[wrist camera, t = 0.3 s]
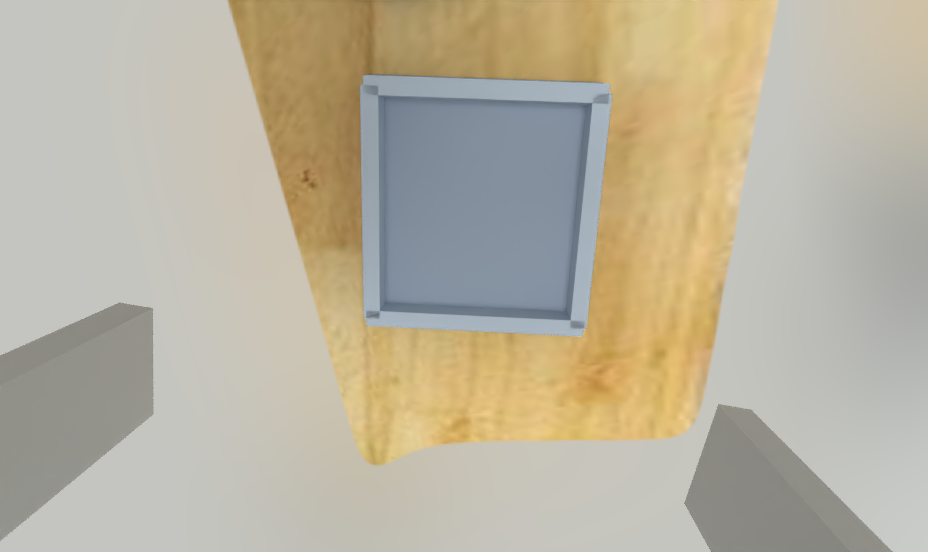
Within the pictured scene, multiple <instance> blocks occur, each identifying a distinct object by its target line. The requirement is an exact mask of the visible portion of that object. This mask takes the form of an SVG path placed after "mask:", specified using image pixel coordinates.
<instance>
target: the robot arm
mask: <svg viewBox="0 0 928 552" xmlns="http://www.w3.org/2000/svg"><path fill="white" fill-rule="evenodd" d="M152 415H153V308H148V307H142V306H135V305H130V304H124V303H118V304H116V305H114V306H111V307H109V308H107V309H104V310H102V311H100V312H98V313H95V314H93V315H91V316H89V317H86V318H84V319H82V320H80V321H77V322H75V323H73V324H71V325H68V326H66V327H64V328H62V329H59V330H57V331H55V332H53V333H51V334H48V335H46V336H44V337H41V338H39V339H37V340H35V341H32V342H30V343H28V344H26V345H23V346H21V347H19V348H17V349H14V350H12V351H10V352H8V353H5V354H3V355H1V356H0V541H1V540H2V539H3V538H4V537H6V536H7V535H8V534H9V533H10V532H12V531H13V530H14V529H15V528H16V527H18V526H19V525H20V524H21V523H22V522H24V521H25V520H26V519H27V518H29V517H30V516H31V515H32V514H33V513H35V512H36V511H37V510H38V509H39V508H41V507H42V506H43V505H44V504H45V503H47V502H48V501H49V500H50V499H51V498H53V497H54V496H55V495H56V494H58V493H59V492H60V491H61V490H62V489H63V488H65V487H66V486H67V485H68V484H70V483H71V482H72V481H73V480H74V479H76V478H77V477H78V476H79V475H80V474H82V473H83V472H84V471H85V470H86V469H88V468H89V467H90V466H91V465H93V464H94V463H95V462H96V461H97V460H98V459H100V458H101V457H102V456H103V455H105V454H106V453H107V452H108V451H109V450H111V449H112V448H113V447H114V446H115V445H116V444H118V443H119V442H120V441H121V440H123V439H124V438H125V437H126V436H128V435H129V434H130V433H131V432H132V431H134V430H135V429H136V428H137V427H138V426H140V425H141V424H142V423H143V422H144V421H146V420H147V419H148V418H149V417H150V416H152ZM685 505H686V507H687V509H688V510H689V512H690V514H691V516H692V518H693V520H694V522H695V523H696V525H697V527H698V529H699V531H700V532H701V534H702V536H703V538H704V539H705V541H706V543H707V545H708V547H709V549H710V550H711V552H892V551H891V550H890V549H889V548H888V547H887V546H886V545H885V544H884V543H883V542H882V541H881V540H880V539H879V538H878V537H877V536H876V535H875V534H874V533H873V532H872V531H871V530H870V529H869V528H868V527H867V526H866V525H865V524H864V523H863V522H862V521H861V520H860V519H859V518H858V517H857V516H856V515H855V514H854V513H853V512H852V511H851V510H850V509H849V508H848V507H847V506H846V505H845V504H844V503H843V502H842V501H841V500H840V499H839V498H838V497H837V496H836V494H834V492H832V490H830V488H829V487H827V485H826V484H825V483H824V482H823V481H821V479H820V478H818V476H817V475H816V474H814V472H812V470H811V469H810V468H809V467H808V466H807V465H806V464H805V463H804V462H802V460H801V459H800V458H799V457H798V456H797V455H796V454H795V453H794V452H793V451H792V450H791V449H790V448H789V447H788V446H787V445H786V444H785V443H784V442H783V441H782V440H781V439H780V438H779V437H778V436H777V435H776V434H775V433H774V432H773V431H772V430H771V429H770V428H769V427H768V426H767V425H766V424H765V423H764V422H763V421H762V420H761V419H760V418H758V416H757V415H756V414H755V413H754V412H753V411H752V410H749V409H743V408H737V407H732V406H726V405H720V404H719V405H718V407H717V410H716V413H715V416H714V419H713V422H712V425H711V428H710V430H709V434H708V436H707V439H706V442H705V445H704V448H703V451H702V454H701V457H700V460H699V463H698V465H697V468H696V471H695V474H694V477H693V480H692V483H691V486H690V489H689V492H688V494H687V497H686V500H685Z"/></svg>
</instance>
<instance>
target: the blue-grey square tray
mask: <svg viewBox="0 0 928 552" xmlns="http://www.w3.org/2000/svg"><path fill="white" fill-rule="evenodd" d="M609 91H610V84H603V83H599V82H571V81H543V80H515V79H487V78H460V77H432V76H404V75H376V74H370V75H363V85H360V122H361V184H362V246H363V307H364V318H366V326H380V327H400V328H420V329H440V330H460V331H480V332H500V333H521V334H541V335H561V336H581V337H583V330H584V329H586V328H587V319H588V310H589V301H590V292H591V283H592V274H593V265H594V256H595V246H596V237H597V228H598V219H599V210H600V201H601V192H602V183H603V174H604V165H605V156H606V147H607V138H608V128H609V119H610V110H611V101H612V94H609Z"/></svg>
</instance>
